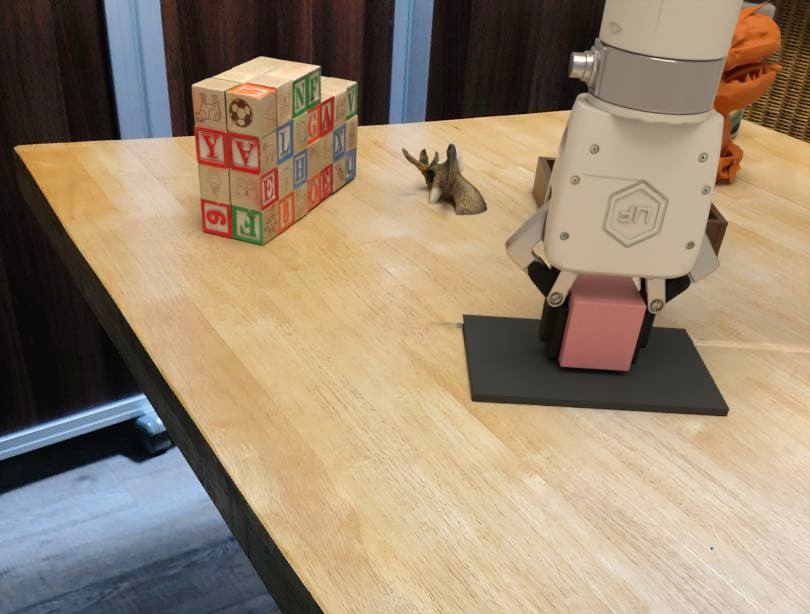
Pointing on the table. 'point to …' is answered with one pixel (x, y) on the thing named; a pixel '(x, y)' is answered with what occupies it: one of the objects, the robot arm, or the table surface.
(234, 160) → the stack of blocks
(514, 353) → the mat
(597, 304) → the pink block
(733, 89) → the toy dinosaur
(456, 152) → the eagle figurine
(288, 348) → the table surface
